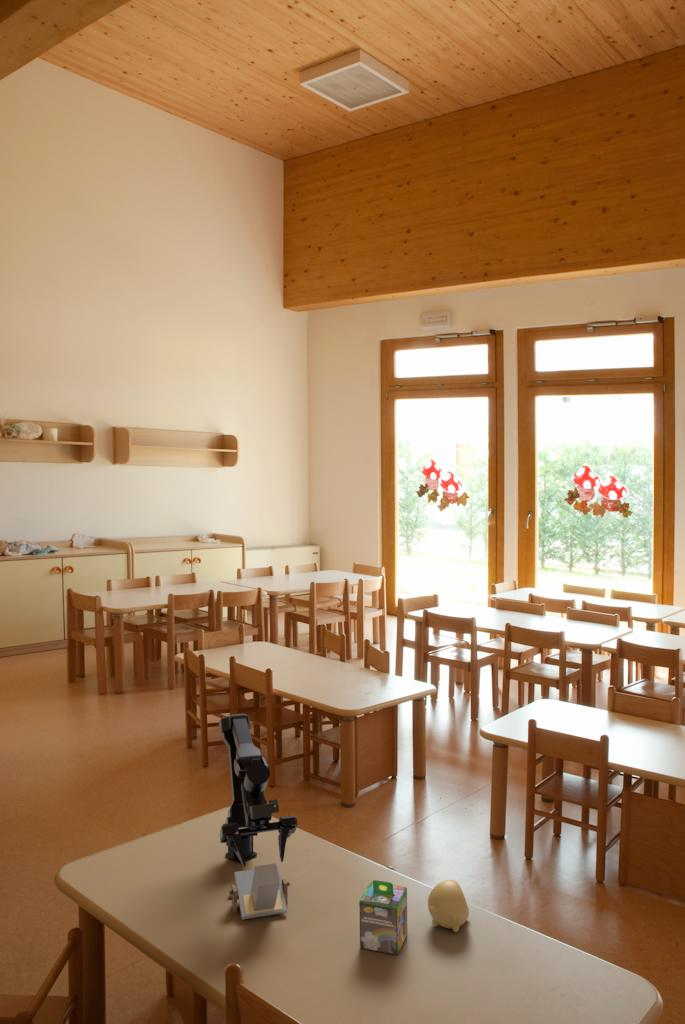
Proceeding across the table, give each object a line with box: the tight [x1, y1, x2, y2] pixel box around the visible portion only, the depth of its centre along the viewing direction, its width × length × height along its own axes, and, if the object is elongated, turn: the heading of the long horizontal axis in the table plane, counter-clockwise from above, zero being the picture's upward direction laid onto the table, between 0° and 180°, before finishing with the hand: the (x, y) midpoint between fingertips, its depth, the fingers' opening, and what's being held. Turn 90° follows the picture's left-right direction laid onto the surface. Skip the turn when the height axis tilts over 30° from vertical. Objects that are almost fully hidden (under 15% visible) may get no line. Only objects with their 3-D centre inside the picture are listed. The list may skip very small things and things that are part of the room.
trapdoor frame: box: [228, 877, 291, 914], centre depth 210 cm, size 8×15×6 cm, turn 107°
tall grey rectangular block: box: [251, 863, 280, 911], centre depth 201 cm, size 5×5×11 cm
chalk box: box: [358, 879, 408, 956], centre depth 192 cm, size 9×9×15 cm
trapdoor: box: [234, 865, 288, 920], centre depth 207 cm, size 12×11×4 cm
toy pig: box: [427, 879, 470, 933], centre depth 199 cm, size 10×12×11 cm
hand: (263, 864), depth 202 cm, fingers open, 9 cm apart
